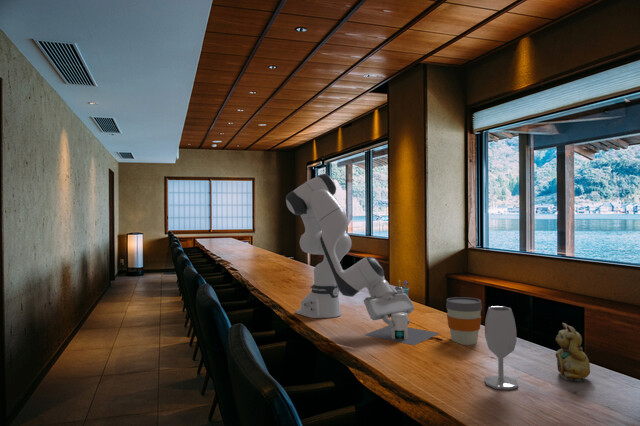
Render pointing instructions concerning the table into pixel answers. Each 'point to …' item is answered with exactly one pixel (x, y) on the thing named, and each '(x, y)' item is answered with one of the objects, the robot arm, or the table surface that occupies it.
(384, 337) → the charcoal mat
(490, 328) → the wineglass
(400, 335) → the teal marble
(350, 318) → the table surface
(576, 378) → the decorative figurine
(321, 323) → the table surface
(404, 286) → the cup
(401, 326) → the cream tumbler
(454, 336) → the reusable coffee cup
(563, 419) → the table surface
